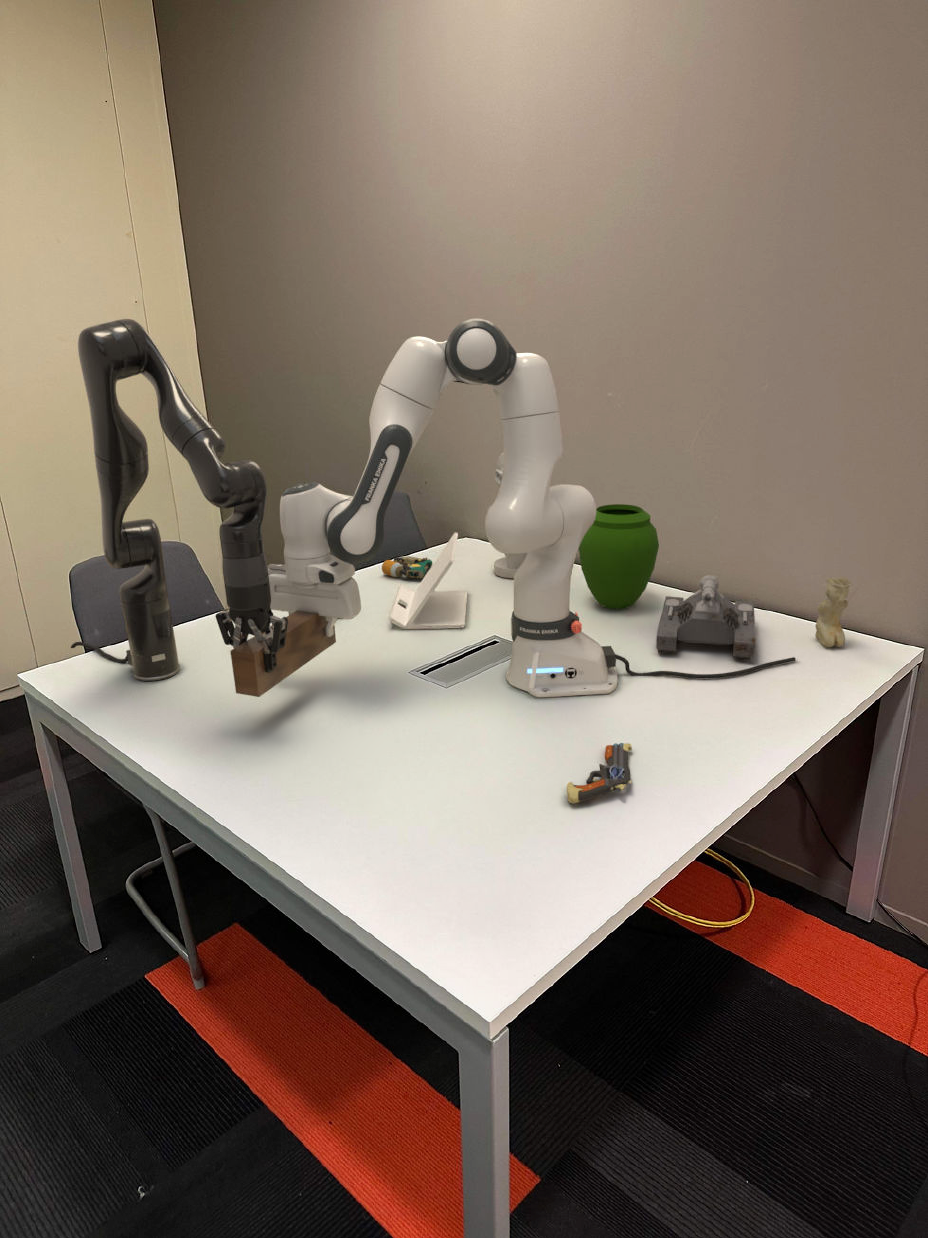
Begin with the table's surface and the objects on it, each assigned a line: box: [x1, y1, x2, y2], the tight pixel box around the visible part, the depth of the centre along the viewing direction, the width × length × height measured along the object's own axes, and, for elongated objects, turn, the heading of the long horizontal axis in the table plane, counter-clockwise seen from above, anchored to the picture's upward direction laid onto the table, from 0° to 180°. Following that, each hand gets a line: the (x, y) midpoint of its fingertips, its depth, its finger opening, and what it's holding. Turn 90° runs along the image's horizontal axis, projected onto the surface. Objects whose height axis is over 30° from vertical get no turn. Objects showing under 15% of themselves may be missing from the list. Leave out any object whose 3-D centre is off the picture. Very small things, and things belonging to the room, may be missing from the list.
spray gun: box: [381, 555, 433, 579], centre depth 244 cm, size 4×17×15 cm
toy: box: [655, 574, 756, 660], centre depth 189 cm, size 25×20×15 cm
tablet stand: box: [388, 531, 468, 630], centre depth 211 cm, size 18×25×17 cm
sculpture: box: [814, 576, 852, 648], centre depth 185 cm, size 6×7×15 cm
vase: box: [578, 503, 660, 610], centre depth 210 cm, size 20×20×24 cm
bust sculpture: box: [485, 451, 527, 579], centre depth 231 cm, size 16×24×35 cm
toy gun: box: [566, 742, 633, 804], centre depth 138 cm, size 3×19×10 cm
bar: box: [229, 611, 337, 698], centre depth 161 cm, size 27×5×8 cm, turn 158°
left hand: (257, 668), depth 153 cm, fingers closed on bar, 5 cm apart
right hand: (314, 633), depth 170 cm, fingers closed on bar, 5 cm apart
